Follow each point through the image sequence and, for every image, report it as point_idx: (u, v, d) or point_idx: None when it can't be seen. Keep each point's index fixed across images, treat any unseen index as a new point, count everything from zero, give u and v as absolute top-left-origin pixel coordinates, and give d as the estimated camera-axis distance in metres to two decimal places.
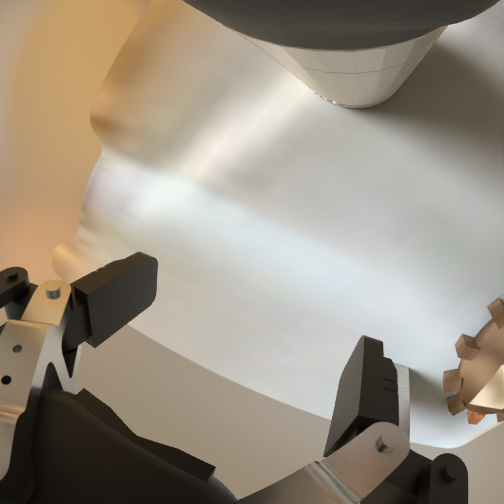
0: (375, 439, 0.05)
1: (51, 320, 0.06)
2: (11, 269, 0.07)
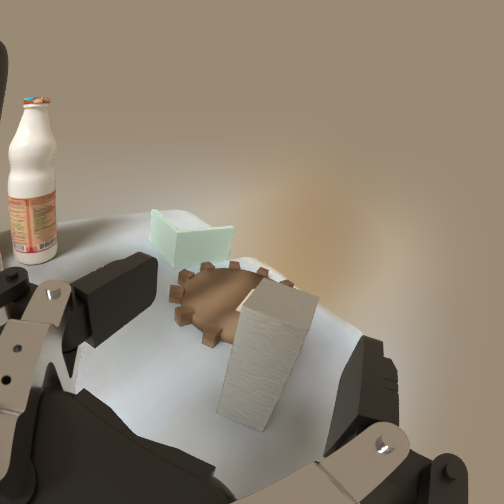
0: (375, 439, 0.05)
1: (51, 320, 0.06)
2: (11, 269, 0.07)
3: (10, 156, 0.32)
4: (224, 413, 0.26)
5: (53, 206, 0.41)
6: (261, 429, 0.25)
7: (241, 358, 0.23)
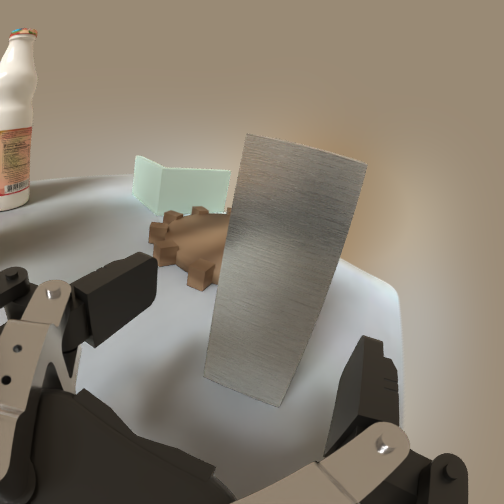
0: (375, 439, 0.05)
1: (51, 320, 0.06)
2: (11, 269, 0.07)
3: None
4: (215, 376, 0.17)
5: (27, 144, 0.31)
6: (277, 402, 0.16)
7: (244, 248, 0.13)
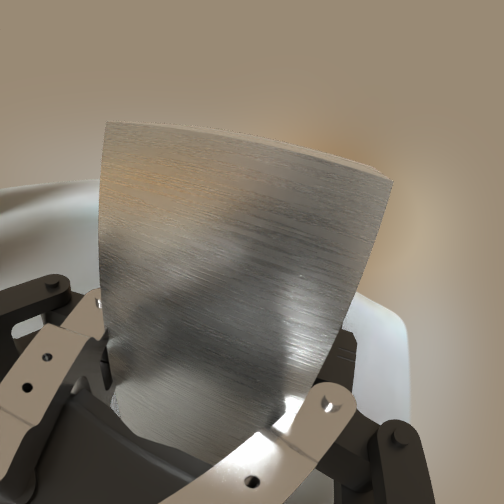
0: (320, 396, 0.06)
1: (94, 331, 0.06)
2: (52, 277, 0.07)
3: None
4: None
5: None
6: None
7: (132, 345, 0.06)
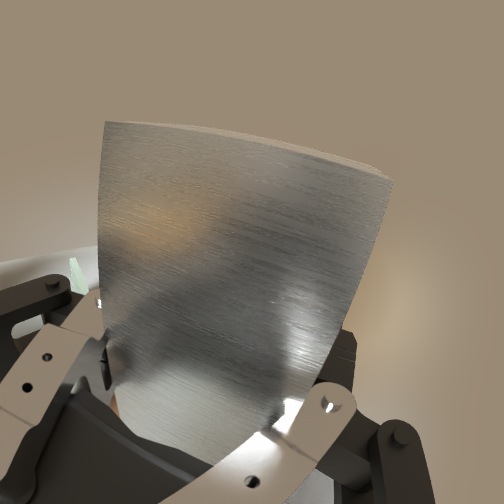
0: (320, 396, 0.06)
1: (94, 331, 0.06)
2: (52, 277, 0.07)
3: None
4: None
5: None
6: None
7: (132, 346, 0.06)
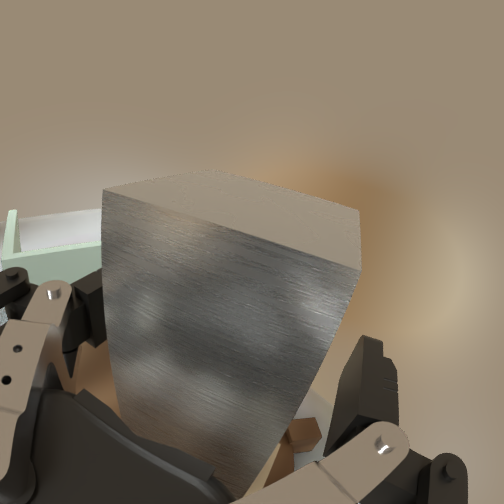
0: (375, 439, 0.05)
1: (51, 320, 0.06)
2: (11, 269, 0.07)
3: None
4: None
5: None
6: None
7: (136, 379, 0.07)
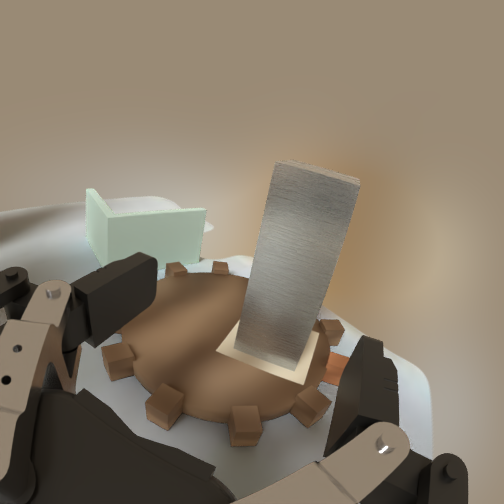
0: (375, 439, 0.05)
1: (51, 320, 0.06)
2: (11, 269, 0.07)
3: None
4: (243, 347, 0.21)
5: None
6: (293, 366, 0.21)
7: (272, 244, 0.18)
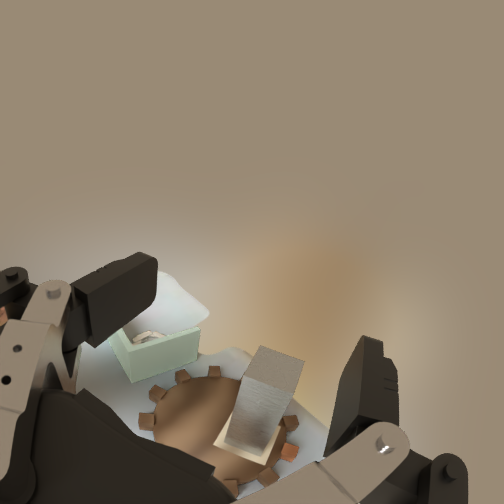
0: (375, 439, 0.05)
1: (51, 320, 0.06)
2: (11, 269, 0.07)
3: None
4: (229, 442, 0.31)
5: (4, 309, 0.31)
6: (259, 454, 0.30)
7: (243, 407, 0.27)
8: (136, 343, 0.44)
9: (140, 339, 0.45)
